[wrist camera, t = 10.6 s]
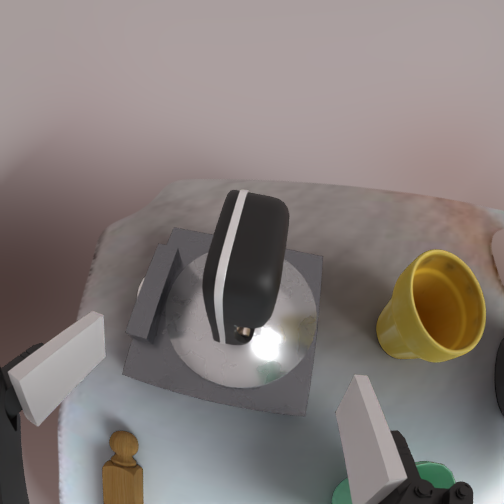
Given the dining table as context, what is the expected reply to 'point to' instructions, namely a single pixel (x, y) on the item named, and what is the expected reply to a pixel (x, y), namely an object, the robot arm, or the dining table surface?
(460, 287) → the plant pot
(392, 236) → the dining table surface
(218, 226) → the battery charger
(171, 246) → the scale
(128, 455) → the turned wooden baluster
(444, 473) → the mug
